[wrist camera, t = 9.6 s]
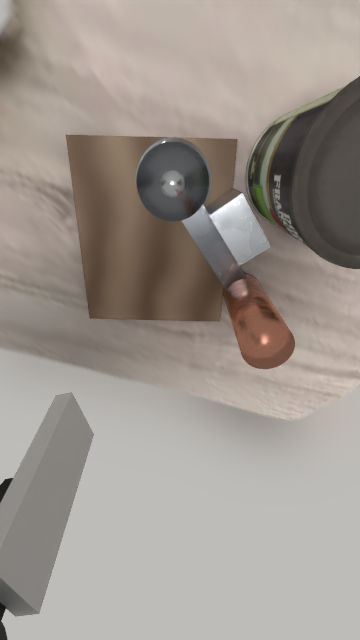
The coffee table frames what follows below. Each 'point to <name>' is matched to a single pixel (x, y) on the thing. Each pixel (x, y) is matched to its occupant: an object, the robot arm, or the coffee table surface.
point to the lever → (218, 245)
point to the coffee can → (313, 175)
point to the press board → (142, 232)
